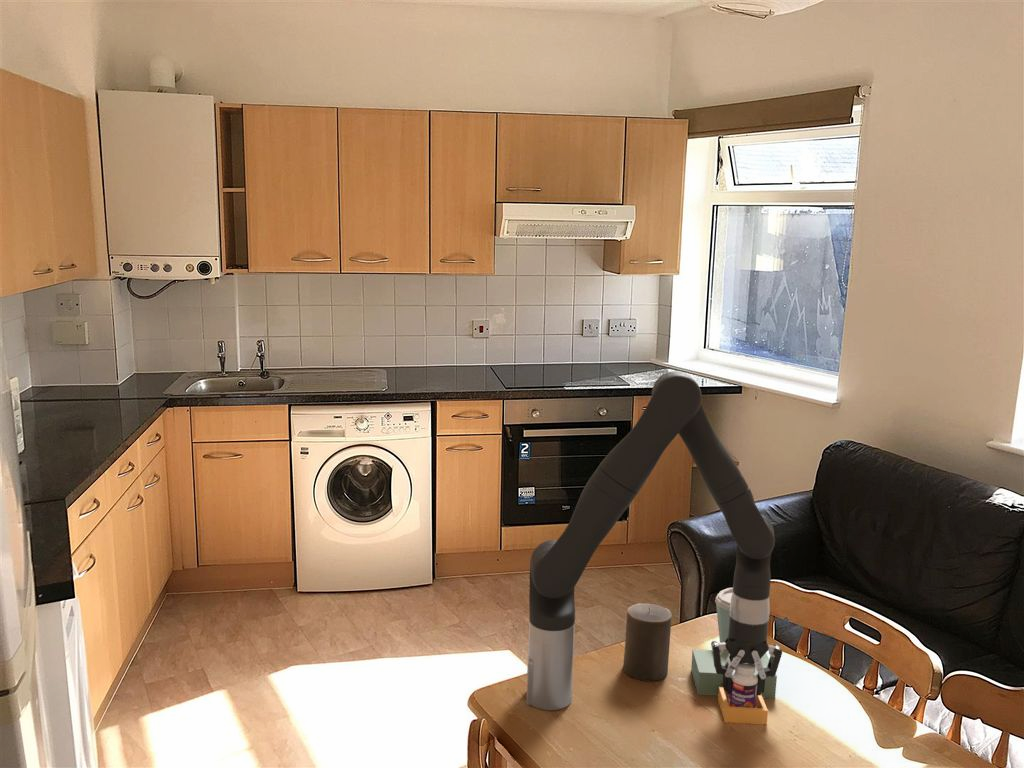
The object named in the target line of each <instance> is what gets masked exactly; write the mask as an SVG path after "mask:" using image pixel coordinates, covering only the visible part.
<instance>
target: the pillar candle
mask: <svg viewBox="0 0 1024 768" xmlns="http://www.w3.org/2000/svg"><path fill="white" fill-rule="evenodd" d="M672 617H673V616H672V612H671V610H670V609H668V608H666V607H663V606H661V605H658V604H652V603H636V604H633V605H631V606H629V607H628V608H627V612H626V623H625V624H626V625H625V640H624V641H625V642H624V654H623V664H622V665H623V666H622V667H623V671H624V672H625V674H626V675H628V676H629V677H631V678H633V679H635V680H639V681H643V682H656V681H660V680H663V679H665V678H666V677H667V676H668V672H669V657H670V643H671V633H672V632H671V630H672ZM666 675H667V676H666ZM664 677H665V678H664Z"/></svg>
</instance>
